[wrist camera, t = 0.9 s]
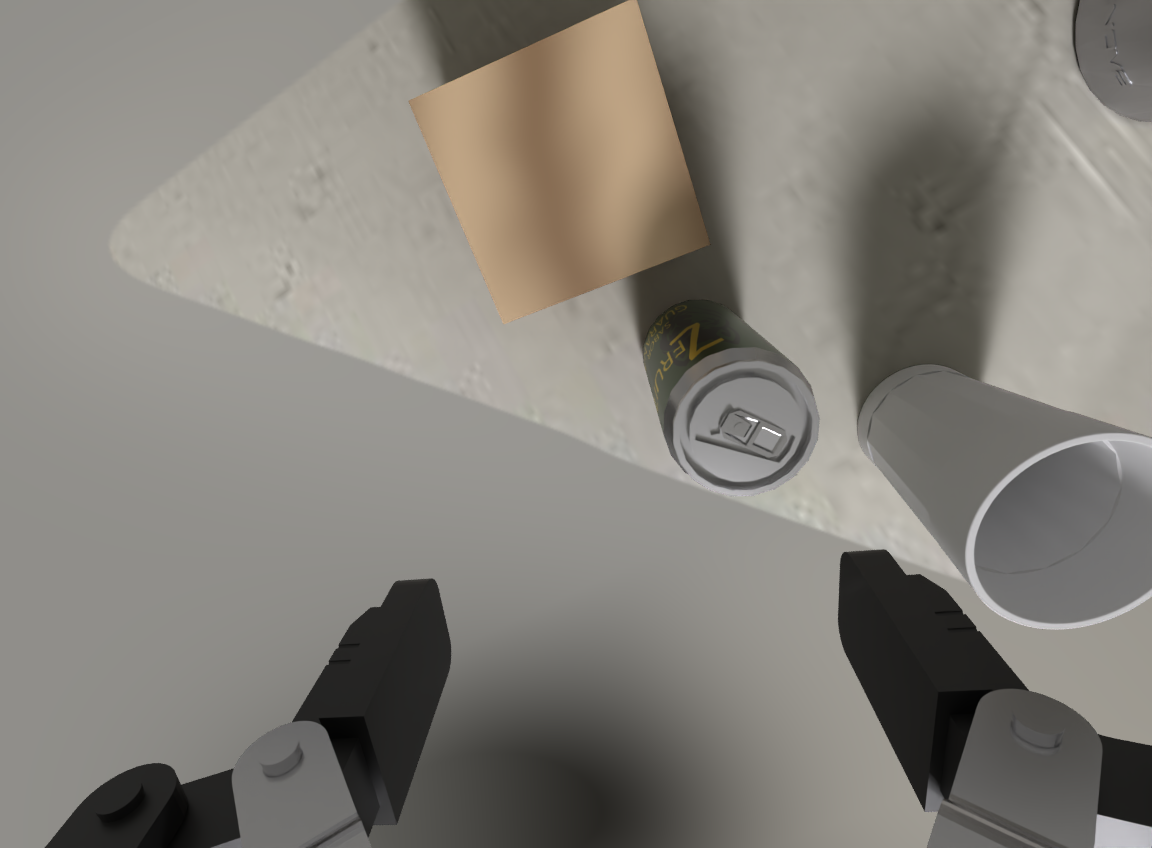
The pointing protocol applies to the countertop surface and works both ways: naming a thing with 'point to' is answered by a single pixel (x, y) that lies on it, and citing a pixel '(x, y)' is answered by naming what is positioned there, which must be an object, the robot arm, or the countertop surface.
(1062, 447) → the cup
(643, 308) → the countertop surface
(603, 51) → the stool
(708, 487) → the green soda can
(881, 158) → the countertop surface
